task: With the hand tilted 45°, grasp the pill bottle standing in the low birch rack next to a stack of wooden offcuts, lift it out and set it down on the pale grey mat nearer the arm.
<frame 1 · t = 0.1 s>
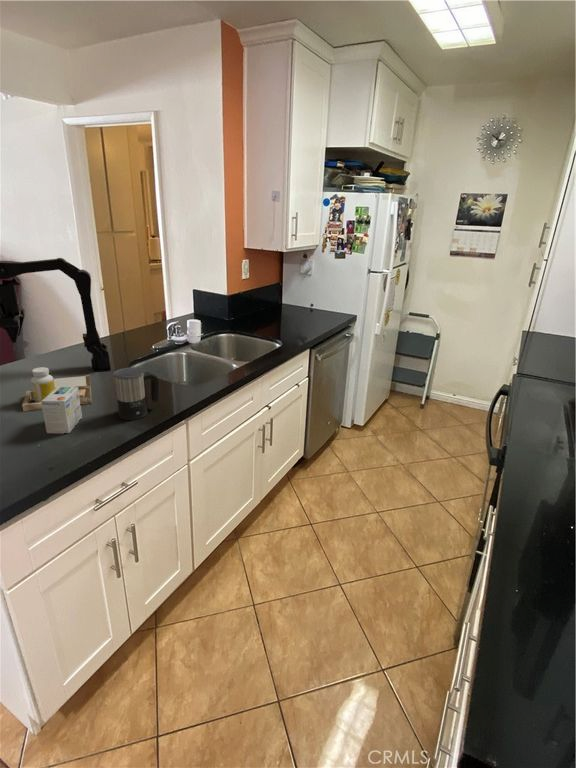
hand: (16, 339, 154), 15 cm above the counter, tool pointing down, fingers open, 9 cm apart
pale grey mat: (70, 385, 154), on the counter
pill bottle: (46, 402, 140), resting in birch rack
milk frother: (132, 409, 139), on the counter
offcut stack: (75, 399, 144), resting in birch rack
birch rack: (59, 399, 142), on the counter
light bulb box: (65, 425, 126), on the counter
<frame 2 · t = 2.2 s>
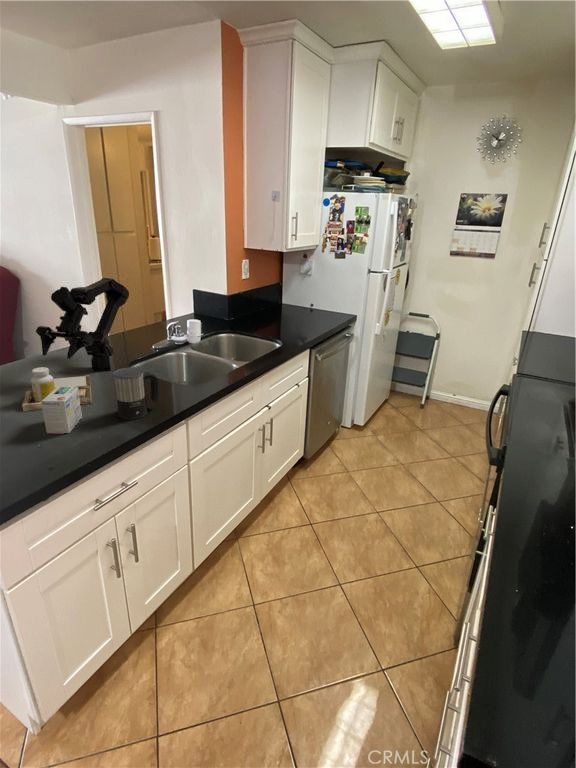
hand: (56, 356, 143), 13 cm above the counter, tool tilted 45°, fingers open, 9 cm apart
nothing on the counter moved.
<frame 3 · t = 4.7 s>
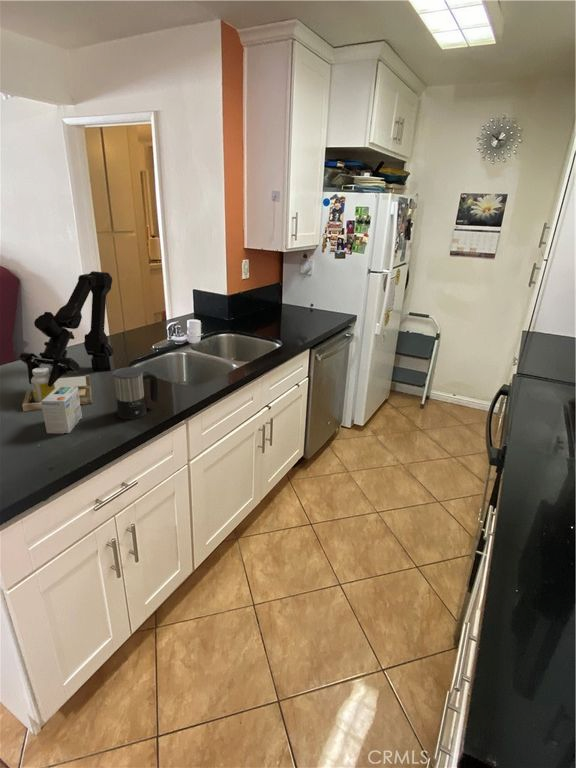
hand: (39, 385, 136), 7 cm above the counter, tool tilted 45°, fingers closed on pill bottle, 6 cm apart
pill bottle: (46, 401, 140), resting in birch rack, touching gripper
everything else where it was.
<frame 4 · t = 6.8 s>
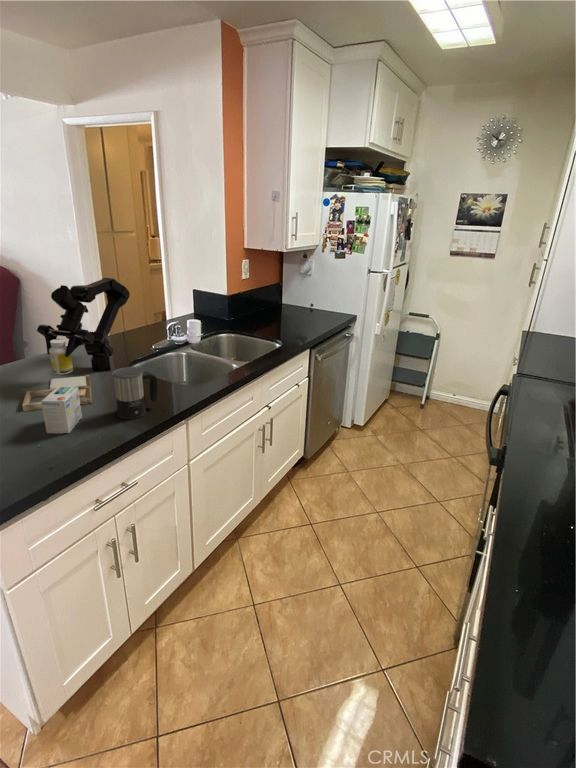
hand: (57, 355, 143), 14 cm above the counter, tool tilted 45°, fingers closed on pill bottle, 6 cm apart
pill bottle: (63, 372, 147), point 7 cm above the counter, touching gripper
everything else where it was.
when the fingers open (8 cm above the counter, at t = 8.7 s): pill bottle stays where it is, resting on pale grey mat.
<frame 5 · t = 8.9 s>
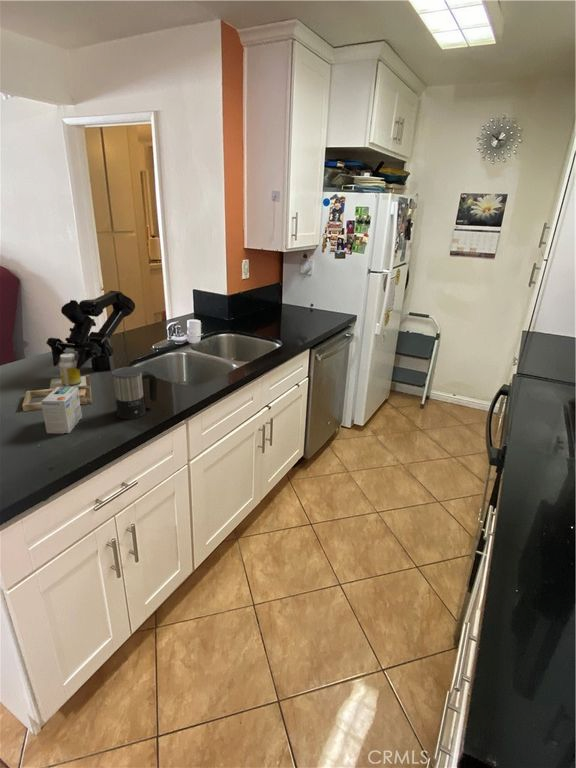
hand: (66, 367, 149), 8 cm above the counter, tool tilted 45°, fingers open, 9 cm apart
pill bottle: (71, 385, 153), resting on pale grey mat
everything else where it was.
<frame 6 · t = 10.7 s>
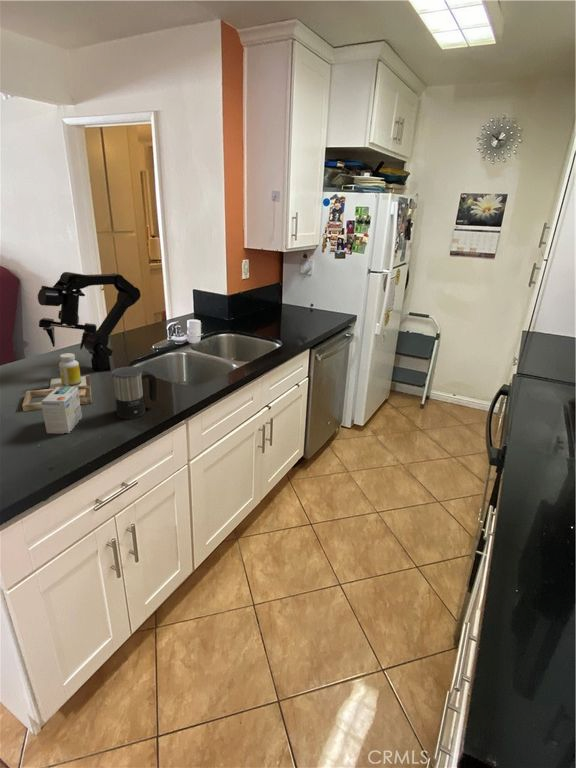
hand: (67, 348, 157), 12 cm above the counter, tool pointing down, fingers open, 9 cm apart
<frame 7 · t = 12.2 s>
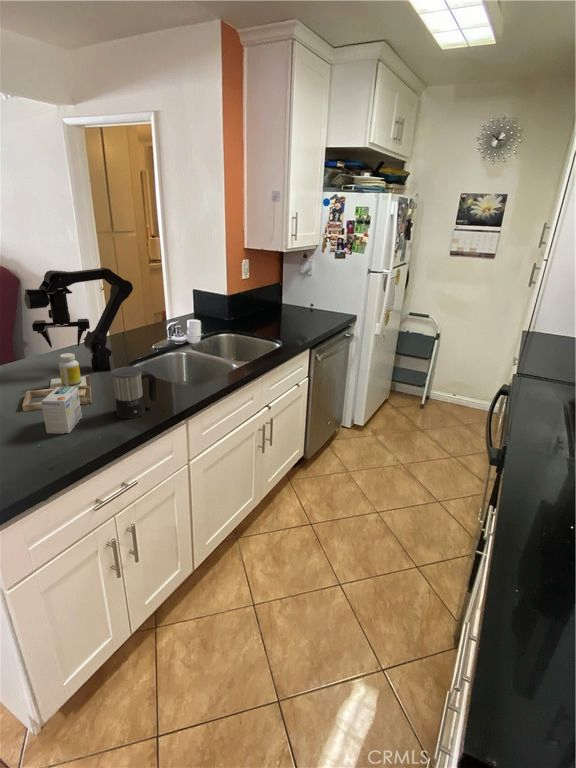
hand: (65, 346, 157), 12 cm above the counter, tool pointing down, fingers open, 9 cm apart
at the end: pill bottle inside the target area on the pale grey mat (1.6 cm from its centre), point 0.4 cm above the pale grey mat's base; pill bottle tilted 0°; the gripper is holding nothing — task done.
